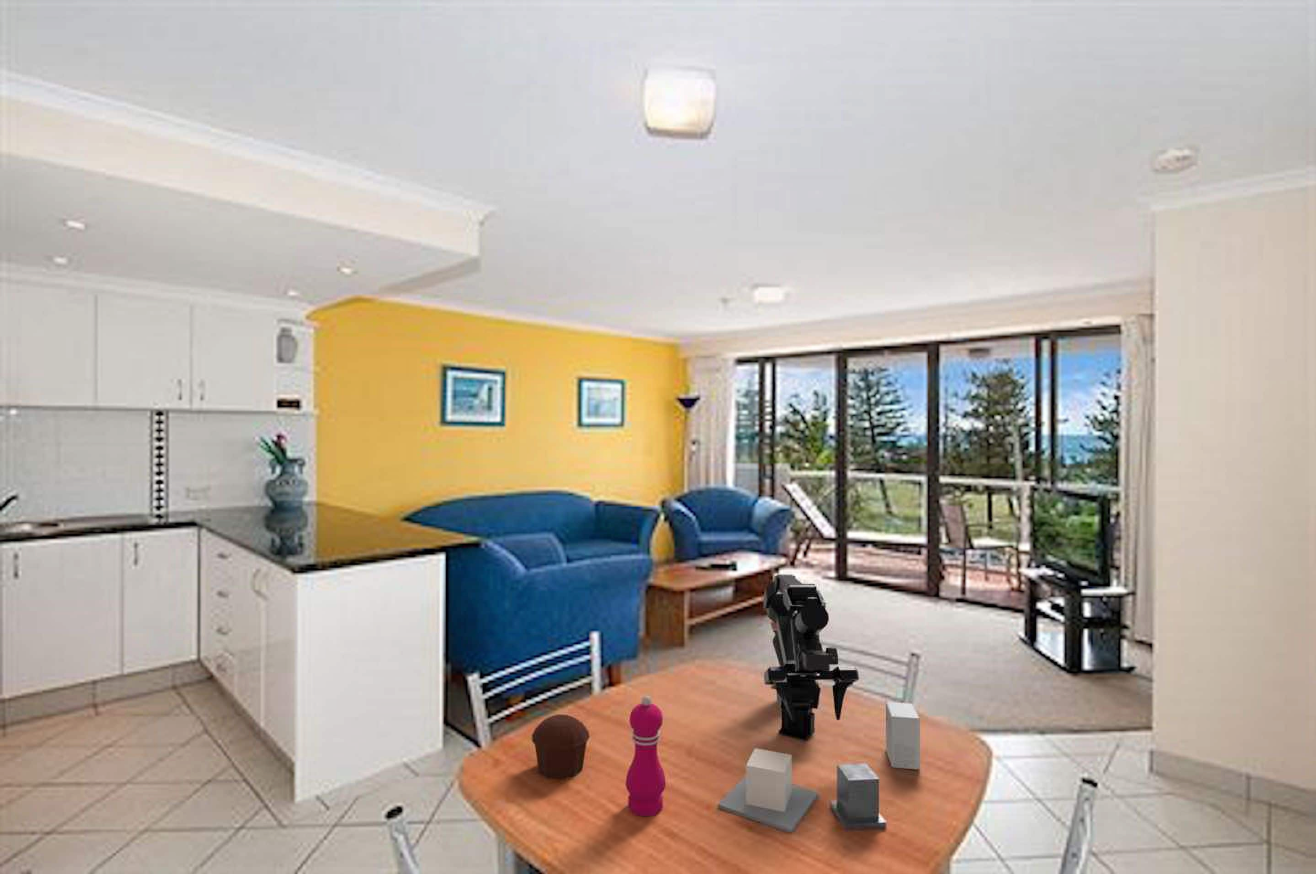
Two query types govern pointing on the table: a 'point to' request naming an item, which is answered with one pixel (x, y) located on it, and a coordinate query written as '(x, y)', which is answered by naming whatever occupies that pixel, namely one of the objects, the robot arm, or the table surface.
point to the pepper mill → (645, 761)
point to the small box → (903, 735)
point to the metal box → (857, 798)
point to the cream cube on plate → (769, 779)
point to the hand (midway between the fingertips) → (815, 720)
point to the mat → (784, 821)
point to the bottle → (777, 644)
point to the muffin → (560, 746)
